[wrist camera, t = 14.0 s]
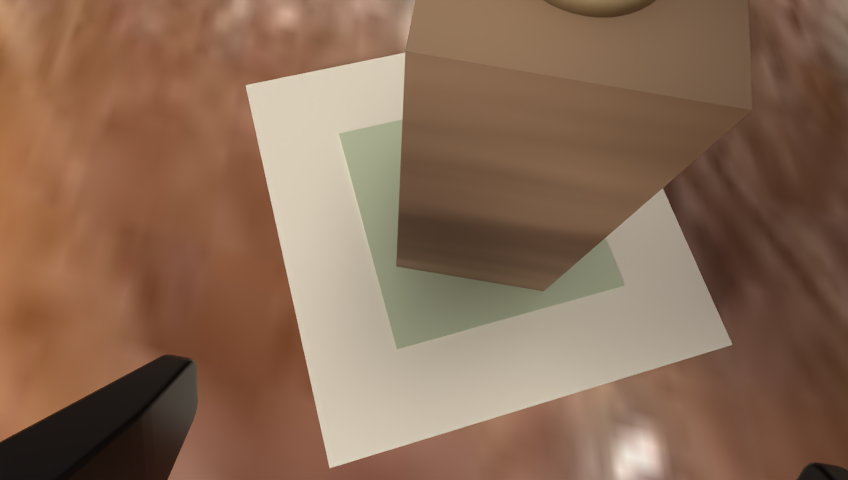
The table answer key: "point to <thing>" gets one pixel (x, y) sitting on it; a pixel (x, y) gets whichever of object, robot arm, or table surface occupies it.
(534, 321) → the baseplate
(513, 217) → the walnut pillar
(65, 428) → the robot arm
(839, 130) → the table surface
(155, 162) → the table surface
